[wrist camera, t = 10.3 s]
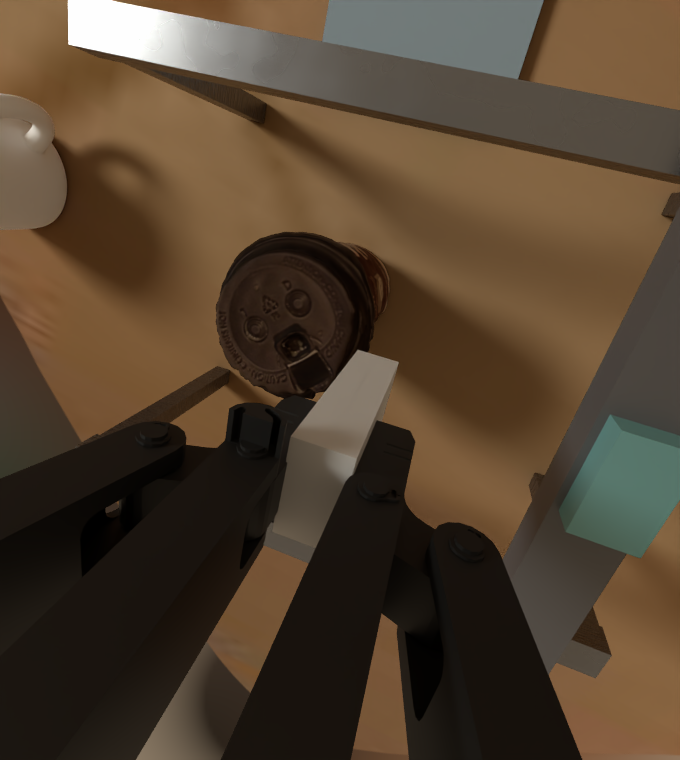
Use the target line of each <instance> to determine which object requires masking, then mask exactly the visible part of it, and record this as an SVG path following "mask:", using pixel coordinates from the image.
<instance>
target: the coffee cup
mask: <svg viewBox="0 0 680 760" xmlns="http://www.w3.org/2000/svg"><path fill="white" fill-rule="evenodd" d="M389 280H390V278H389V276H388V274H387V270H386V268H385V266H384V265H383V263H382V262H381V261H380V260H379V259H378V258H377V257H376V256H374V255H373V254H372V253H371V252H369V251H368V250H367V249H365V248H363V247H361V246H358V245H354V244H351V243H341V242H335V241H333V240H332V239H329V238H327V237H324V236H321V235H317V234H313V233H307V232H295V233H294V232H282V233H279V234H274V235H270V236H267V237H264V238H260V239H258V240H257V241H255V242H254V243H253V244H251V245H250V246H248V247H247V248H245V249H244V250H243V251H242V252H241V253H240V254H239V255H238V256H237V257H236V258H235V260H234V262H233V264H232V265H231V267H230V269H229V271H228V273H227V276H226V278H225V280H224V282H223V284H222V288H221V292H220V297H219V301H218V302H217V304H216V312H217V314H216V317H217V318H216V325H217V332H218V334H219V336H220V337H219V340H220V345H221V346H222V348H223V351H224V354H225V357H226V359H227V360H228V362H229V364H230V365H231V367H232V368H234V369H237V370H239V372H240V375H241V376H243V377H244V378H245V379H246V380H249V381H250V382H251V384H252V385H253V386H258V387H261V388H263V389H264V390H265V391H267V392H269V393H271V394H273V395H275V396H278V397H282V398H284V399H286V398H289V397H291V396H294V395H296V396H299V397H302V398H308V399H313V398H314V397H315V394H316V393H319V392H325V391H326V390H327V389H328V388H329V386H330V385H331V384H332V383H333V381H334V380H335V379H336V377H337V376H338V375H339V373H340V372H341V371H342V370H343V368H344V367H345V366H346V364H347V363H348V362H349V361H350V359H351V358H352V357H353V355H354V354H355V353H356V352H357V350H360V351H364V352H367V353H368V351H369V348H370V341H371V339H372V338H373V332H374V323H375V321H376V320H377V318H378V317H379V315H380V314H381V313H383V312H384V311H385V309H386V307H387V301H388V296H389V293H390V287H389Z"/></svg>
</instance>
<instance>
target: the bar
mask: <svg viewBox="0 0 680 760" xmlns="http://www.w3.org/2000/svg"><path fill="white" fill-rule="evenodd" d="M679 500H680V207H679V209H678V211H677V213H676V215H675V217H674V219H673V221H672V223H671V225H670V227H669V229H668V231H667V233H666V235H665V237H664V239H663V241H662V243H661V245H660V247H659V249H658V251H657V253H656V255H655V257H654V259H653V261H652V263H651V265H650V267H649V269H648V271H647V273H646V275H645V277H644V279H643V281H642V283H641V285H640V287H639V289H638V291H637V293H636V295H635V297H634V299H633V301H632V303H631V305H630V307H629V309H628V311H627V313H626V315H625V317H624V319H623V321H622V323H621V325H620V327H619V329H618V331H617V333H616V335H615V337H614V339H613V341H612V343H611V345H610V347H609V349H608V351H607V353H606V355H605V357H604V359H603V361H602V363H601V365H600V367H599V369H598V371H597V373H596V375H595V377H594V379H593V381H592V383H591V385H590V387H589V388H588V390H587V392H586V394H585V396H584V398H583V400H582V402H581V404H580V406H579V408H578V410H577V412H576V414H575V416H574V418H573V420H572V422H571V424H570V426H569V428H568V430H567V432H566V434H565V436H564V438H563V440H562V442H561V444H560V446H559V448H558V450H557V452H556V454H555V456H554V458H553V460H552V462H551V464H550V466H549V468H548V470H547V472H546V474H545V476H544V478H543V480H542V482H541V484H540V486H539V488H538V490H537V492H536V494H535V496H534V498H533V500H532V502H531V504H530V506H529V508H528V510H527V512H526V514H525V516H524V518H523V520H522V522H521V524H520V526H519V528H518V530H517V532H516V534H515V536H514V538H513V540H512V542H511V544H510V546H509V548H508V550H507V552H506V554H505V556H504V558H503V562H504V565H505V567H506V570H507V572H508V575H509V577H510V580H511V582H512V585H513V587H514V590H515V592H516V595H517V597H518V600H519V602H520V605H521V607H522V610H523V612H524V615H525V617H526V620H527V622H528V625H529V628H530V630H531V633H532V635H533V638H534V640H535V643H536V645H537V648H538V650H539V653H540V655H541V658H542V660H543V663H544V665H545V668H546V670H547V673H548V675H549V673H550V671H551V670H552V668H553V667H554V665H555V664H556V662H557V661H558V659H559V658H560V656H561V654H562V653H563V651H564V650H565V648H566V647H567V645H568V644H569V642H570V641H571V639H572V638H573V636H574V634H575V633H576V631H577V630H578V628H579V627H580V625H581V624H582V622H583V621H584V619H585V617H586V616H587V614H588V613H589V611H590V610H591V608H592V607H593V605H594V604H595V602H596V600H597V599H598V597H599V596H600V594H601V593H602V591H603V590H604V588H605V587H606V585H607V584H608V582H609V580H610V579H611V577H612V576H613V574H614V573H615V571H616V570H617V568H618V567H619V565H620V563H621V562H622V560H623V559H624V557H625V556H626V554H629V555H632V556H635V557H638V558H641V557H642V556H643V554H644V553H645V551H646V550H647V548H648V547H649V545H650V544H651V542H652V541H653V539H654V538H655V536H656V535H657V533H658V532H659V530H660V529H661V527H662V526H663V524H664V523H665V521H666V520H667V518H668V517H669V515H670V514H671V512H672V511H673V509H674V508H675V506H676V505H677V503H678V502H679Z"/></svg>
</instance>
